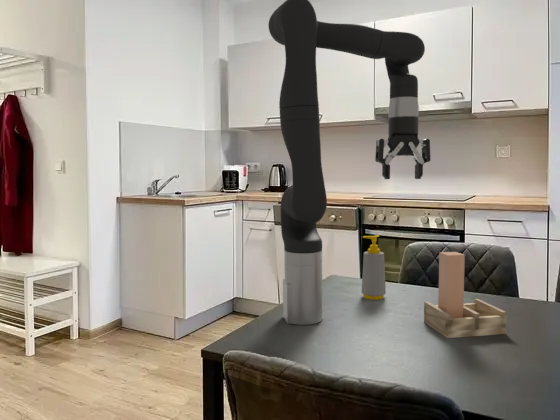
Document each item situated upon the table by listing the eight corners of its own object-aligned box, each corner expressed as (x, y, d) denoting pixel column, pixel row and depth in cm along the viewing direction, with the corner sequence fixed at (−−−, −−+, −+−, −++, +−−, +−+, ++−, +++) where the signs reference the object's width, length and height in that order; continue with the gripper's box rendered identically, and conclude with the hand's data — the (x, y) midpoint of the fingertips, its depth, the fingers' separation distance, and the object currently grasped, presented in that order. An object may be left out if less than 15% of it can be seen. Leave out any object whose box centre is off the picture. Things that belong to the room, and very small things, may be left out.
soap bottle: (356, 295, 139) (357, 234, 138) (378, 293, 141) (378, 233, 140) (368, 301, 133) (368, 237, 131) (390, 299, 135) (391, 236, 133)
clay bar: (446, 325, 107) (448, 255, 106) (438, 319, 111) (439, 252, 110) (462, 324, 108) (464, 254, 107) (453, 319, 112) (455, 251, 110)
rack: (447, 338, 104) (447, 315, 103) (423, 322, 114) (424, 301, 114) (505, 333, 106) (506, 311, 105) (477, 318, 117) (478, 298, 116)
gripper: (382, 114, 119) (382, 179, 120) (436, 115, 121) (434, 179, 122) (372, 117, 126) (371, 179, 127) (422, 118, 128) (421, 178, 130)
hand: (402, 179), depth 125 cm, fingers open, 8 cm apart
